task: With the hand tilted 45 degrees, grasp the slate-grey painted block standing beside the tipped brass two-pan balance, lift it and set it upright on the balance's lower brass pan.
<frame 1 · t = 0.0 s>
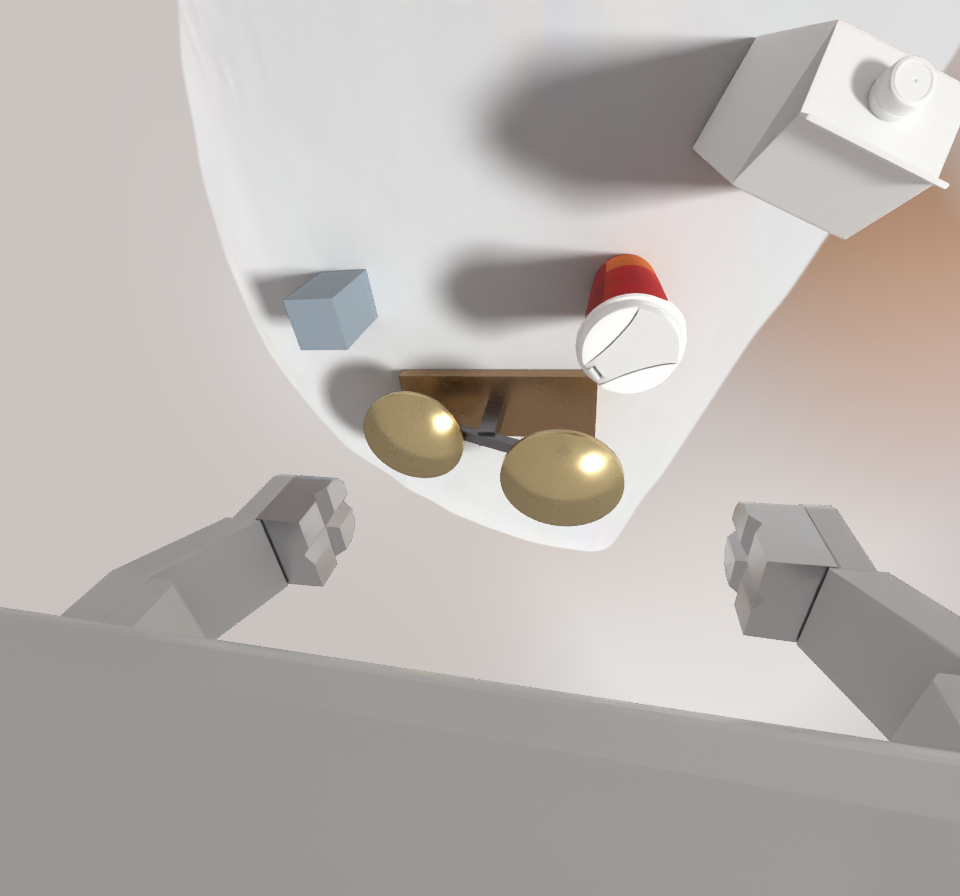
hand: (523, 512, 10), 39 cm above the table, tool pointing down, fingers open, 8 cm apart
milk carton: (763, 116, 35), on the table
paper cup: (624, 283, 44), on the table
balance: (498, 400, 55), on the table
block: (350, 294, 50), on the table
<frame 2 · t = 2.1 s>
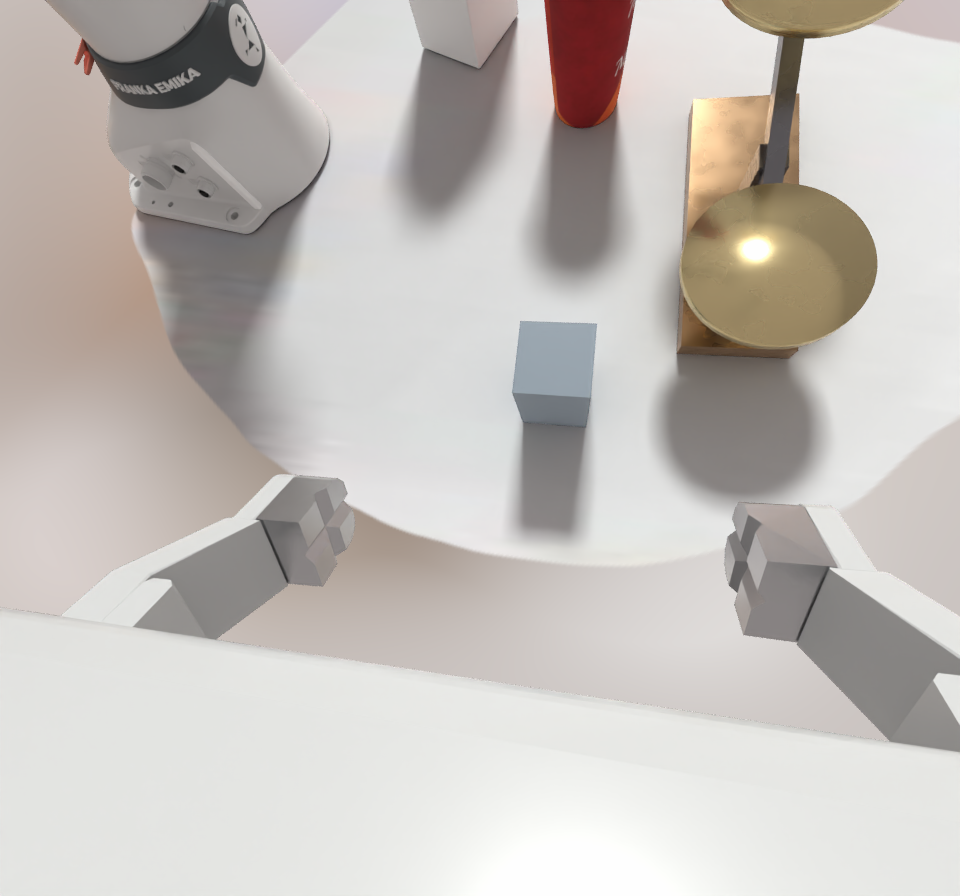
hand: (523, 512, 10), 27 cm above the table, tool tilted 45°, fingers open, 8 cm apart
milk carton: (470, 34, 47), on the table
paper cup: (585, 103, 43), on the table
balance: (735, 228, 38), on the table
block: (556, 395, 38), on the table
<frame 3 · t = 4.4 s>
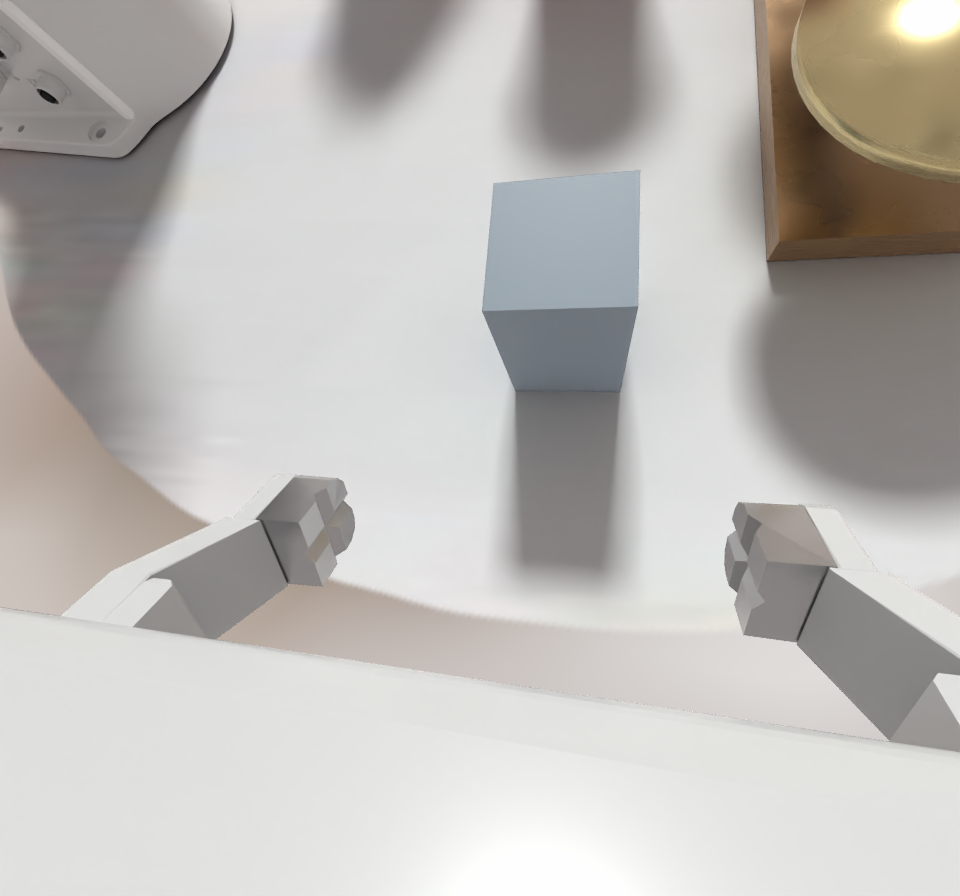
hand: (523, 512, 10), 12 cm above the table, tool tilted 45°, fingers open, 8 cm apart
balance: (846, 61, 24), on the table
block: (568, 343, 23), on the table
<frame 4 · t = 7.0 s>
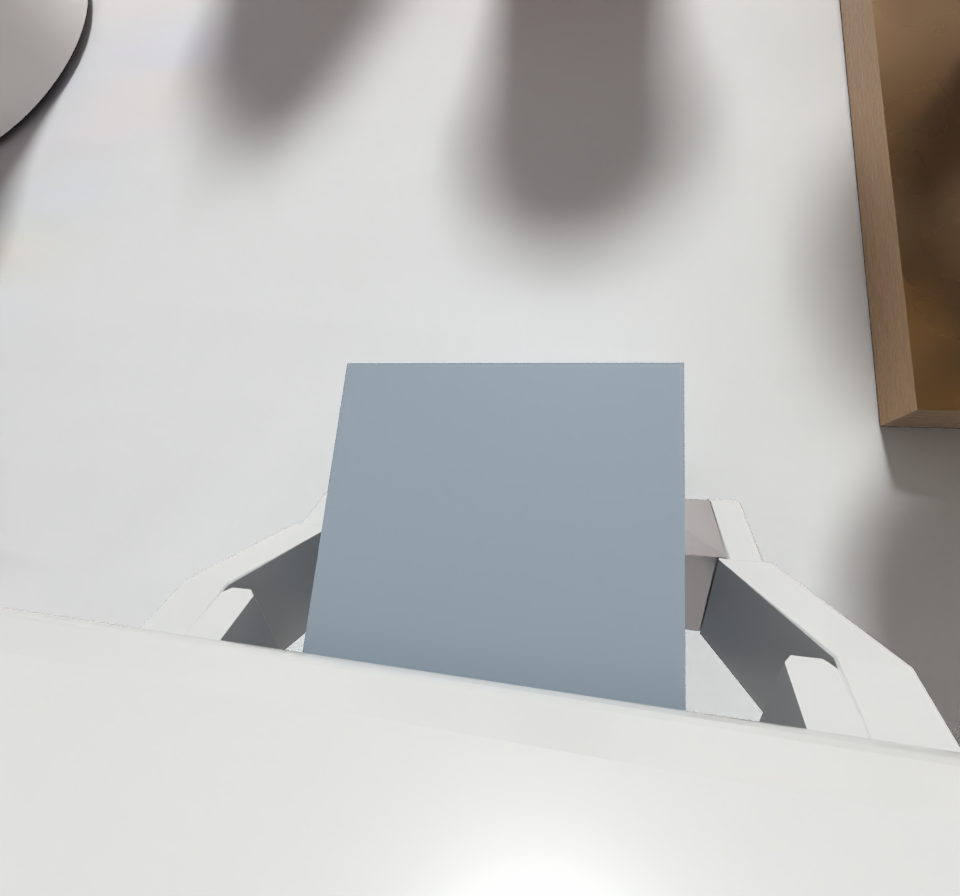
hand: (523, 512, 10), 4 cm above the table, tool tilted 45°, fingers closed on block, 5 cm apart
block: (540, 547, 14), on the table, touching gripper
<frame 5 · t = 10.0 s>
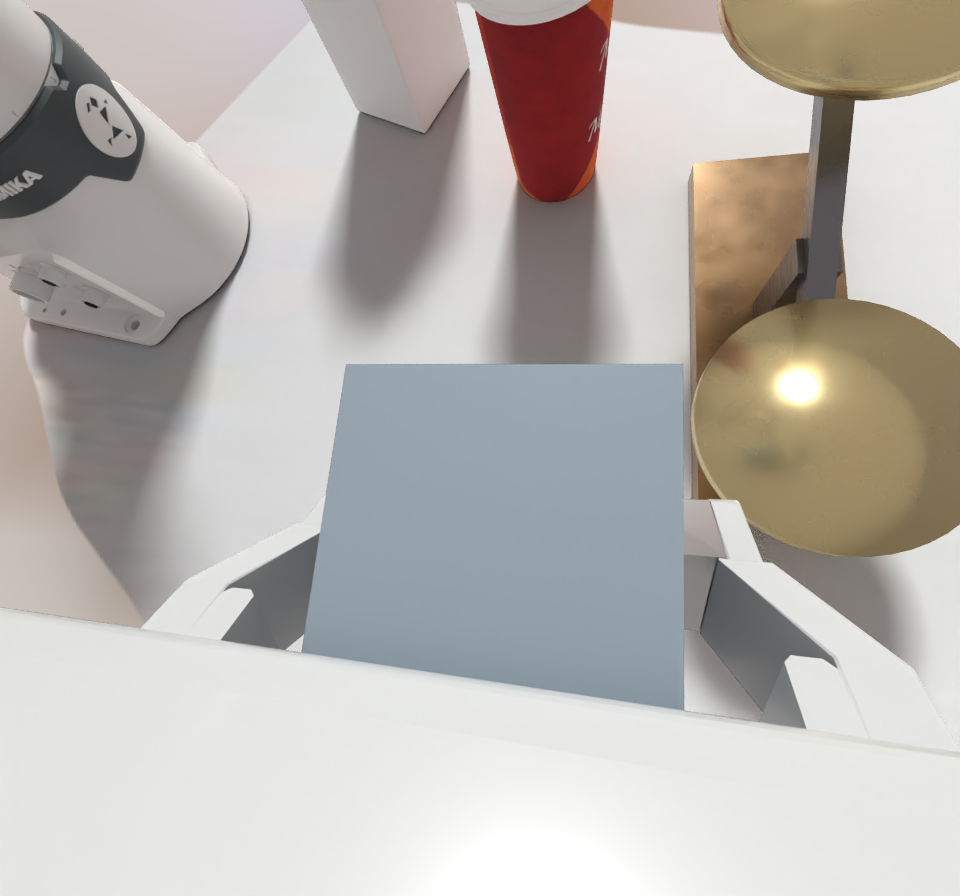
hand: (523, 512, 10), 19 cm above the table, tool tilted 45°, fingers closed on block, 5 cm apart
milk carton: (414, 92, 39), on the table
paper cup: (555, 171, 35), on the table
balance: (760, 329, 29), on the table
block: (539, 548, 14), point 15 cm above the table, touching gripper
when the fingers open (13 cm above the table, at t = 13.0 s): block stays where it is, resting on balance.
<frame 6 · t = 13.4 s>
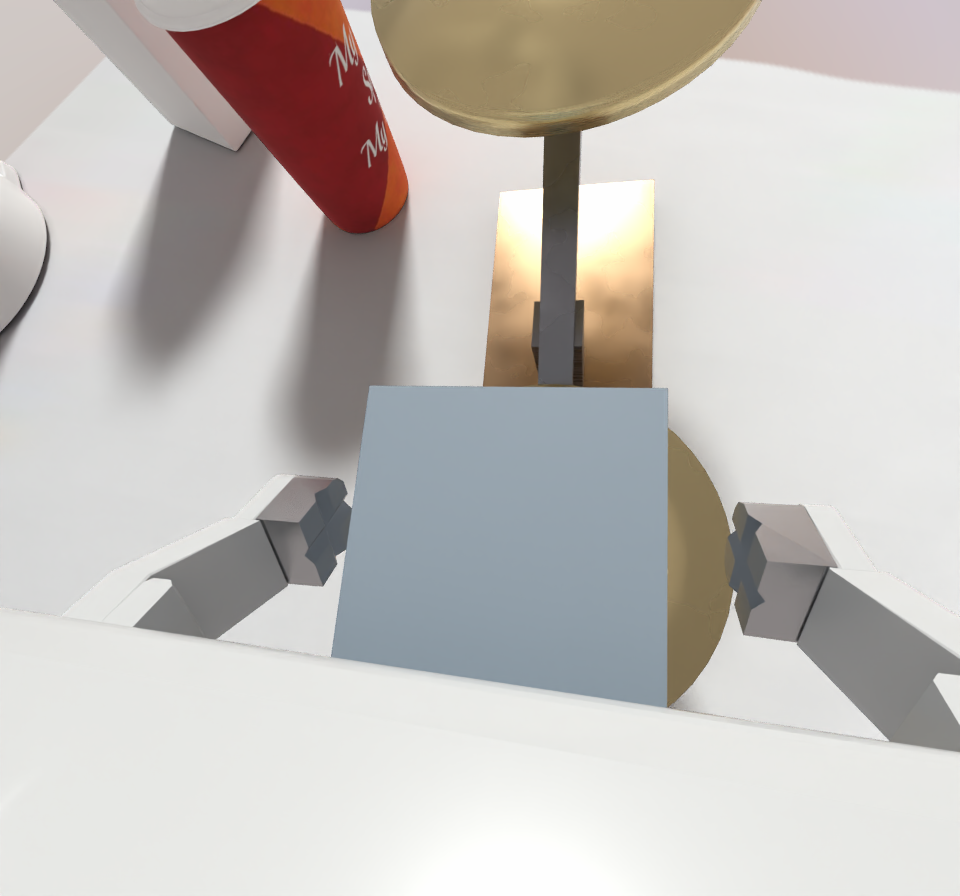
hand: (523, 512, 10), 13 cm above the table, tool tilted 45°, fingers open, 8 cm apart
milk carton: (233, 104, 35), on the table
paper cup: (368, 196, 30), on the table
balance: (565, 392, 24), on the table
block: (541, 549, 15), point 8 cm above the table, touching balance
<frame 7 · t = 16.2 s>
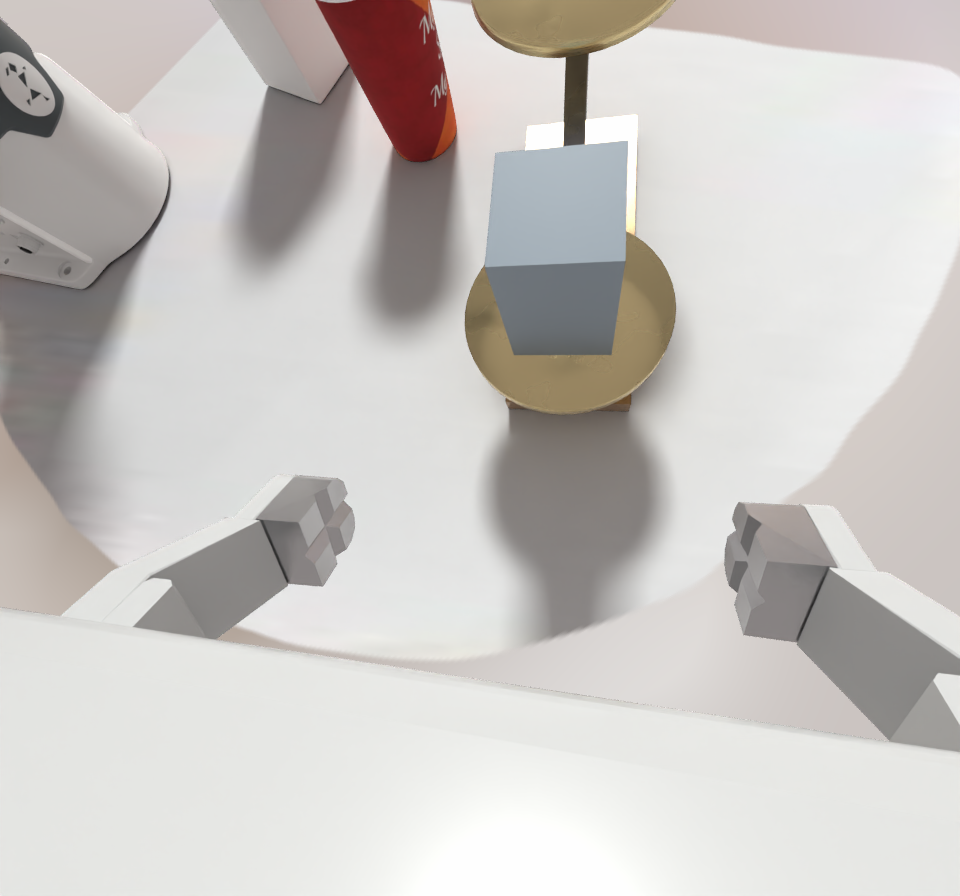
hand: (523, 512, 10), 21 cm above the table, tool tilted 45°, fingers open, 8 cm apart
milk carton: (315, 69, 45), on the table
paper cup: (425, 135, 40), on the table
balance: (574, 264, 34), on the table
block: (564, 311, 25), point 8 cm above the table, touching balance
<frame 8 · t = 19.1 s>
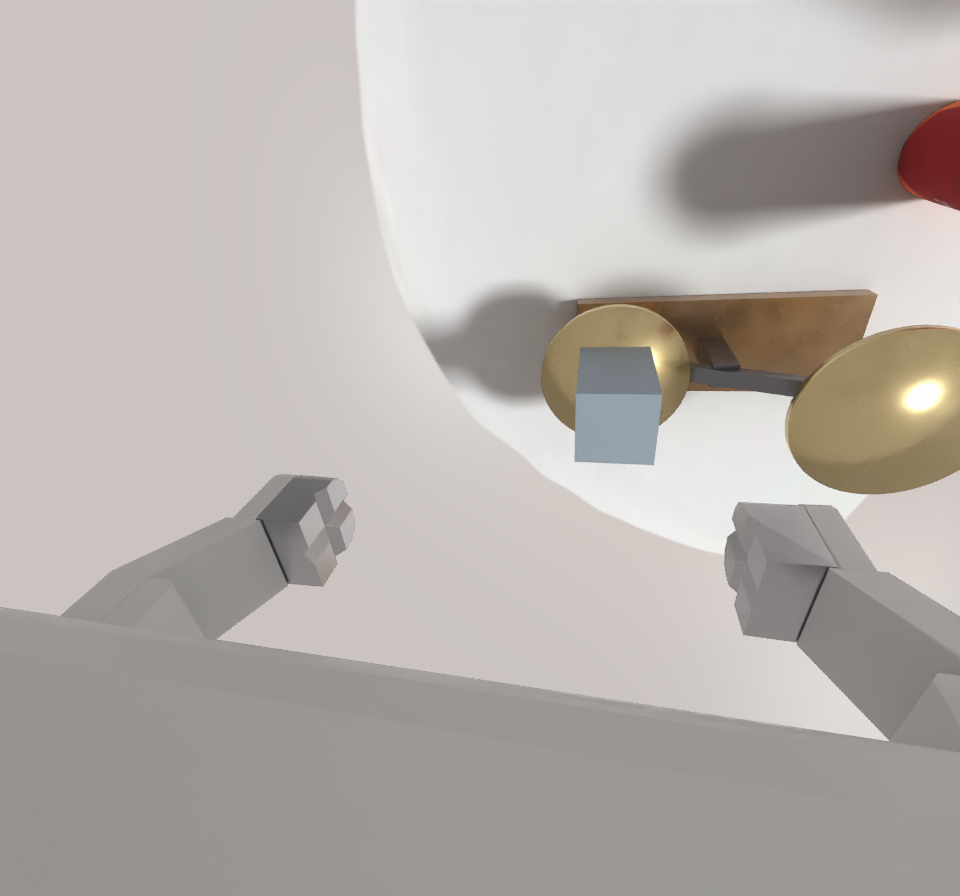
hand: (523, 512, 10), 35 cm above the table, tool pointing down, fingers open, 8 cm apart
paper cup: (947, 149, 32), on the table
balance: (706, 341, 41), on the table
block: (612, 378, 36), point 8 cm above the table, touching balance
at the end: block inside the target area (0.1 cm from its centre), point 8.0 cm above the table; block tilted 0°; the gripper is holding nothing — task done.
